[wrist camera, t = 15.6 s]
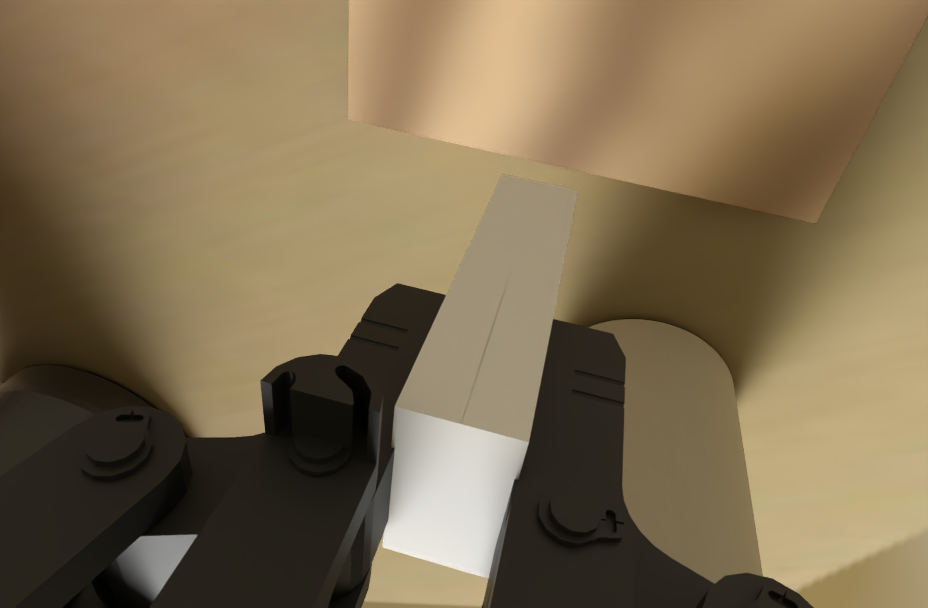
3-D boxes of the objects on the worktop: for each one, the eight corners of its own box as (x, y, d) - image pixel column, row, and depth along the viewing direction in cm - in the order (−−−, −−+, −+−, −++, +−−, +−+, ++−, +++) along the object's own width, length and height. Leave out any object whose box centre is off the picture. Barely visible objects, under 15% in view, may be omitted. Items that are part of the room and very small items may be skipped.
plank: (361, 108, 23) (348, 119, 22) (368, -220, 17) (350, -224, 16) (808, 206, 21) (815, 223, 20) (983, -129, 15) (1005, -128, 14)
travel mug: (644, 279, 24) (627, 886, 10) (775, 401, 26) (926, 1072, 11) (508, 376, 28) (361, 885, 14) (627, 474, 30) (603, 1017, 16)
